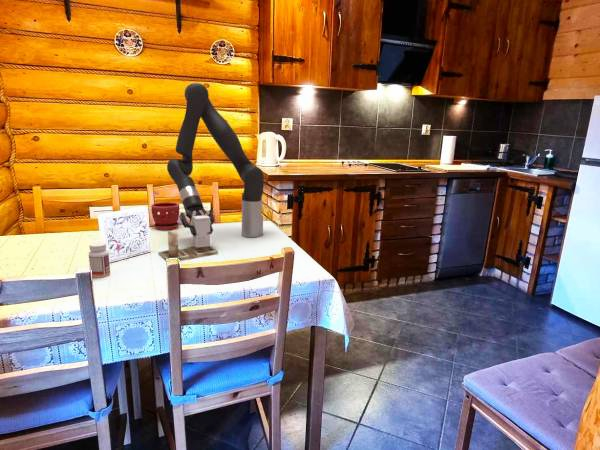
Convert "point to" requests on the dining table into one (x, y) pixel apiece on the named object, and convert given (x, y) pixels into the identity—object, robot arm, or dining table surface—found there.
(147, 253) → the dining table surface
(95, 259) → the pill bottle
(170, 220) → the plant pot
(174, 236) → the peg
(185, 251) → the board
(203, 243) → the skincare box
